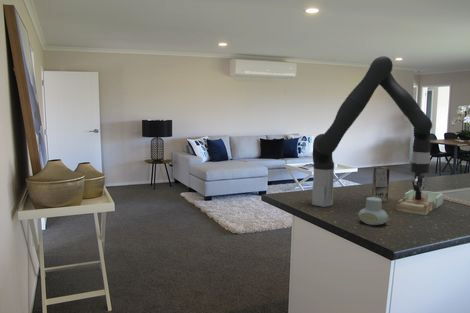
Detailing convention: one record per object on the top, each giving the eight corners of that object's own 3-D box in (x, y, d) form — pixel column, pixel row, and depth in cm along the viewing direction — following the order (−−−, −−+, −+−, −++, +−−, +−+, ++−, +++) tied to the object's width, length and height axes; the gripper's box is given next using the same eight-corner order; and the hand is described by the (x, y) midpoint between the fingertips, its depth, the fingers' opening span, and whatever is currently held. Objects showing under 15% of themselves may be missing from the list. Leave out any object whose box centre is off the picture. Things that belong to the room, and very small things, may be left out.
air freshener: (390, 223, 149) (391, 199, 148) (382, 228, 143) (384, 202, 142) (363, 218, 156) (364, 194, 155) (355, 222, 150) (356, 198, 149)
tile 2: (428, 193, 176) (429, 193, 178) (417, 192, 180) (418, 192, 181) (427, 204, 176) (428, 204, 178) (415, 202, 180) (416, 202, 181)
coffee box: (388, 201, 184) (390, 169, 182) (374, 201, 185) (376, 168, 183) (384, 197, 193) (386, 166, 191) (371, 197, 194) (373, 166, 192)
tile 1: (424, 202, 171) (424, 197, 171) (412, 200, 175) (412, 196, 174) (426, 200, 175) (427, 196, 175) (415, 198, 178) (415, 194, 178)
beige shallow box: (425, 215, 161) (426, 206, 161) (396, 210, 169) (396, 201, 168) (433, 208, 172) (434, 200, 171) (405, 204, 179) (406, 196, 179)
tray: (436, 208, 172) (437, 198, 171) (403, 203, 180) (404, 193, 180) (442, 203, 181) (443, 193, 181) (411, 199, 190) (412, 189, 190)
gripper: (415, 159, 177) (413, 195, 179) (407, 162, 167) (404, 200, 169) (433, 161, 172) (430, 198, 174) (425, 164, 162) (423, 203, 164)
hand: (418, 199), depth 172 cm, fingers closed
